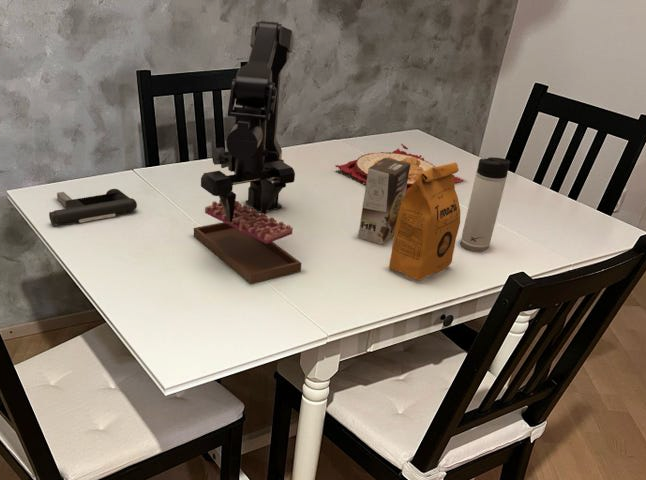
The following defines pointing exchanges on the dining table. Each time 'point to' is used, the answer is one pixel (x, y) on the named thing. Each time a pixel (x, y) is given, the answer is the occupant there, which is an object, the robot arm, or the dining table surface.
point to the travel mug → (484, 203)
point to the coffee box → (383, 199)
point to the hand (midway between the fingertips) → (246, 217)
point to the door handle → (92, 207)
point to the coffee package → (427, 224)
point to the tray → (247, 253)
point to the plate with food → (366, 161)
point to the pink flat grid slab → (251, 222)
